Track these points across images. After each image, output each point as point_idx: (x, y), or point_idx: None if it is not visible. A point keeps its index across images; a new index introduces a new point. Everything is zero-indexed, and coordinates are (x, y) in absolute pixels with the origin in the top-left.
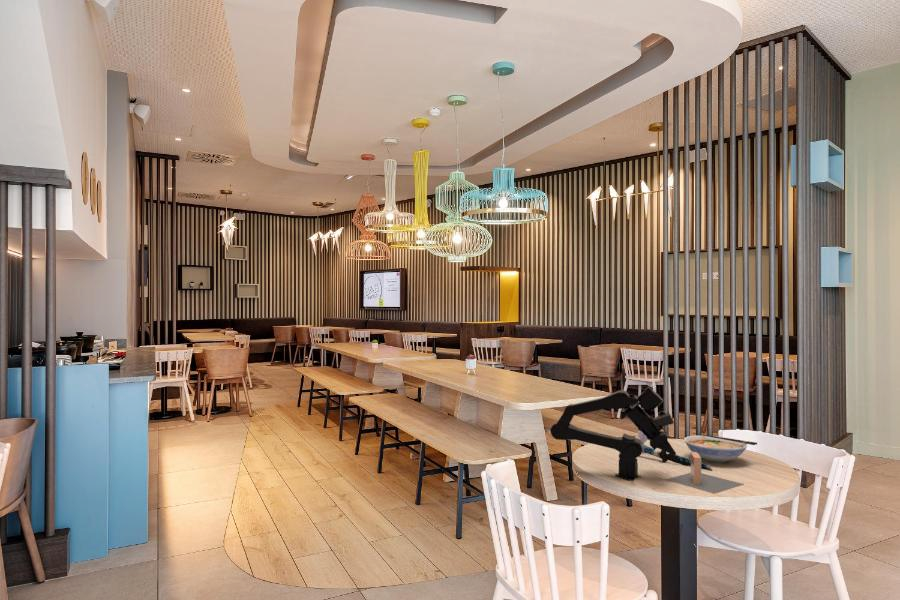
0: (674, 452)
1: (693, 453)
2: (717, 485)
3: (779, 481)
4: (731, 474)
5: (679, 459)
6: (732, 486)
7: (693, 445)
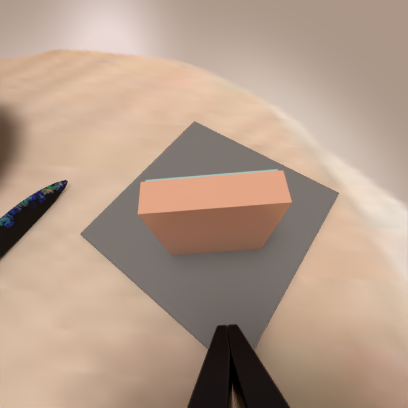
0: (244, 340)
1: (179, 200)
2: None
3: (133, 69)
4: (88, 142)
5: None
6: (230, 146)
7: None
